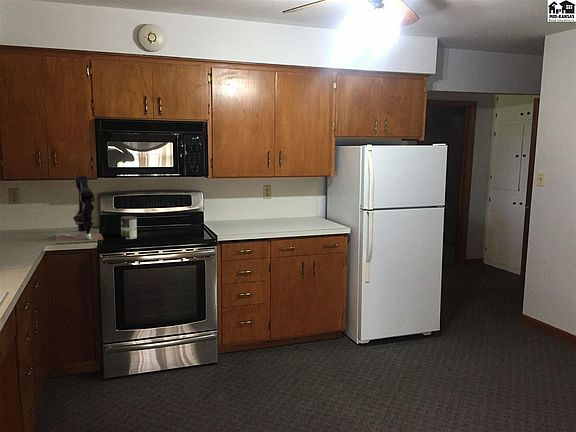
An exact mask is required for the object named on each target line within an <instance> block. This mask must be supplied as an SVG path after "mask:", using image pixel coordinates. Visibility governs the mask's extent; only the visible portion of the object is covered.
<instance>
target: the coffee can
mask: <svg viewBox="0 0 576 432" xmlns="http://www.w3.org/2000/svg"><path fill="white" fill-rule="evenodd" d="M137 218H138V217H137V216H134V215H128V216H127V215H125V216H124V215H123V216H121V217H120V231H121V232H120V236H121V237H122V238H125V239H126V240H133V239H137V237H138V234H137Z"/></svg>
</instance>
